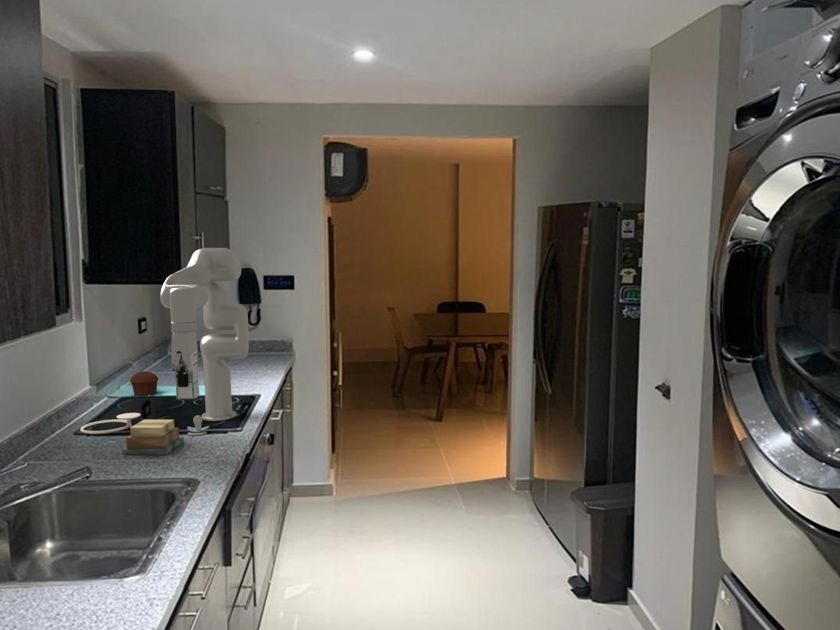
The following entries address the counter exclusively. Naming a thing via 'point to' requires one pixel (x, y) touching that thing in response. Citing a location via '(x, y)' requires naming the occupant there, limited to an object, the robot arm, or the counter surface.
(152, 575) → the counter surface
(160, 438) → the tower base
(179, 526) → the counter surface
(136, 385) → the muffin
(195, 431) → the pacifier
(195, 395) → the syrup box
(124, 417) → the hand towel holder
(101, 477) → the counter surface
